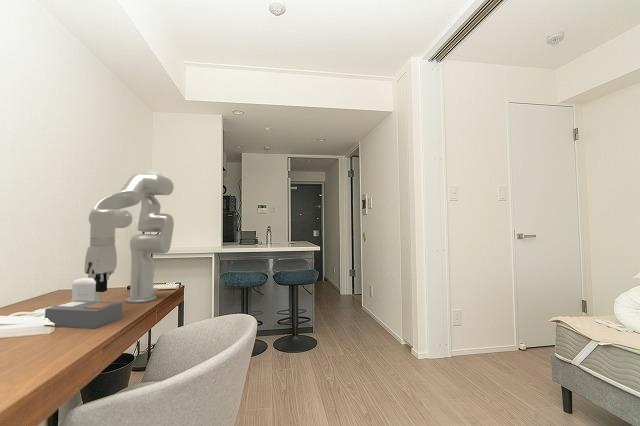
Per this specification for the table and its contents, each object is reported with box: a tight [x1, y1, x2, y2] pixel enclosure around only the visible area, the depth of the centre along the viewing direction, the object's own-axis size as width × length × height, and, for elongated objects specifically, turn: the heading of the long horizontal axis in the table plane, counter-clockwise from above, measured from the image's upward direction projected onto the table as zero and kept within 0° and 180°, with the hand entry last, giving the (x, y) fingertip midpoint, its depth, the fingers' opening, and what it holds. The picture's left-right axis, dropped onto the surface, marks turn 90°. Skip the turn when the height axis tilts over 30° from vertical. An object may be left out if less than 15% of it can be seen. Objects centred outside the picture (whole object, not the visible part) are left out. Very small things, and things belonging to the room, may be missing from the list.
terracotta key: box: [85, 303, 113, 309], centre depth 110 cm, size 6×6×4 cm
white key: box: [56, 301, 87, 308], centre depth 111 cm, size 6×6×4 cm
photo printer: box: [70, 277, 101, 302], centre depth 131 cm, size 10×4×12 cm, turn 98°
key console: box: [44, 300, 123, 329], centre depth 110 cm, size 12×20×6 cm, turn 85°
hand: (101, 291), depth 111 cm, fingers closed
